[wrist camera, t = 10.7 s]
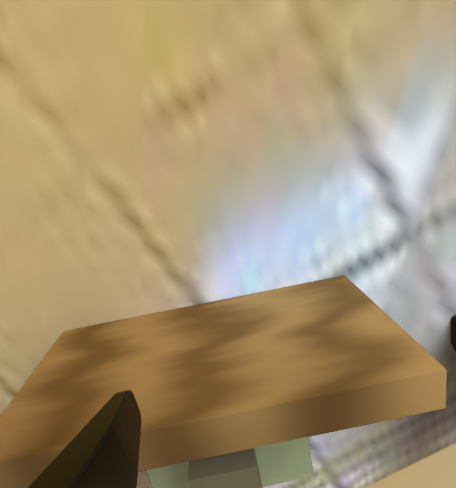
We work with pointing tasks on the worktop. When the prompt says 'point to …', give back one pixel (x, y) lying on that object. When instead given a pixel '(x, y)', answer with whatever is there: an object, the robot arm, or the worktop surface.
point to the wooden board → (225, 377)
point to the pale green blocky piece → (240, 468)
